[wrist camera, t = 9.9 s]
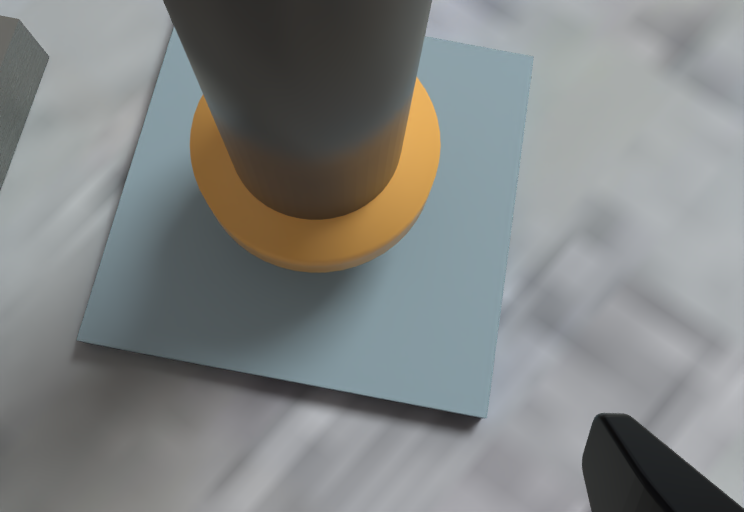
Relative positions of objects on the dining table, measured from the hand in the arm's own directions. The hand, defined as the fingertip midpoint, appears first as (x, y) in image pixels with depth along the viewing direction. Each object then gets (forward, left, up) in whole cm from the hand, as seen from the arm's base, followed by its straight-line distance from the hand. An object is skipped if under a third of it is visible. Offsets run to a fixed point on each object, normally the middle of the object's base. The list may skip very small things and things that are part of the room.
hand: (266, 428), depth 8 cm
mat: (+7, +1, -10) cm, 12 cm away
